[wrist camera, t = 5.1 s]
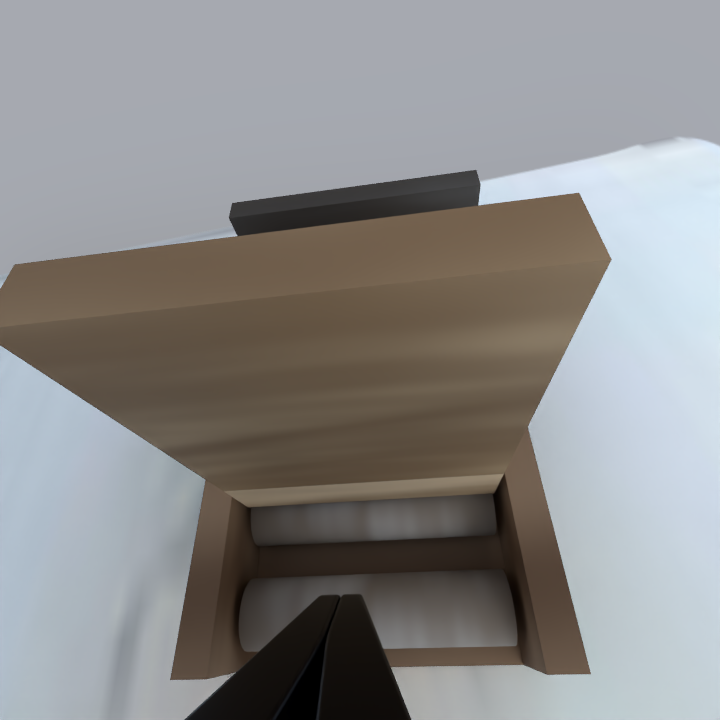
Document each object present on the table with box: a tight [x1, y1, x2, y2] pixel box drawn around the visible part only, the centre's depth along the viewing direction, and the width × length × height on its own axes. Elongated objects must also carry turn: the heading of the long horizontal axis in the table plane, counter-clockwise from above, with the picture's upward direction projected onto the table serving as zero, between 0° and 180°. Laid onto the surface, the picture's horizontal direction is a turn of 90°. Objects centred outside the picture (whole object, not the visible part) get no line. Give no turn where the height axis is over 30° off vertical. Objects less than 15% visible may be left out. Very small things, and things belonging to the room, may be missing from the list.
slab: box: [0, 193, 611, 507], centre depth 11 cm, size 6×8×10 cm
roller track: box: [170, 170, 591, 680], centre depth 16 cm, size 17×11×6 cm, turn 1°
